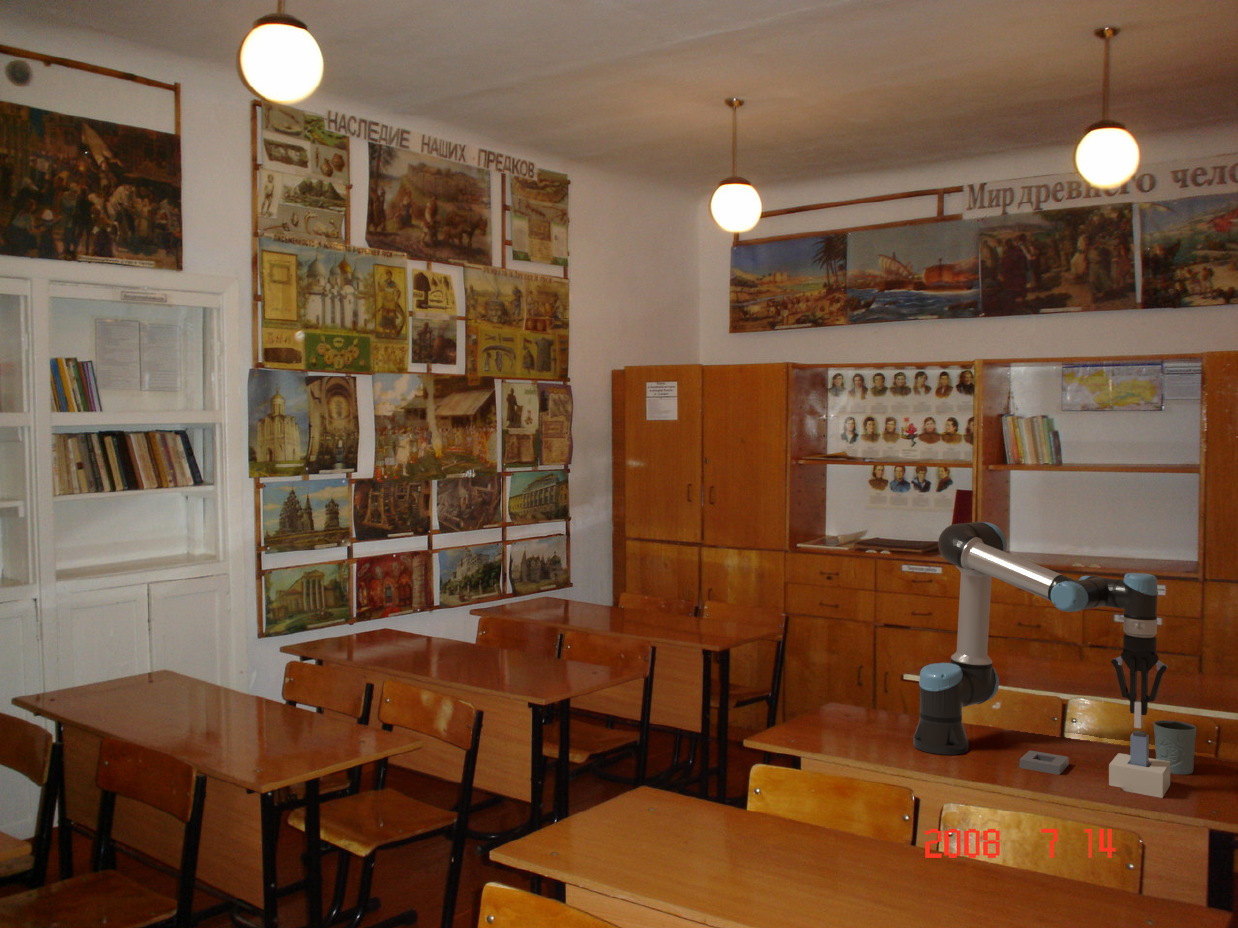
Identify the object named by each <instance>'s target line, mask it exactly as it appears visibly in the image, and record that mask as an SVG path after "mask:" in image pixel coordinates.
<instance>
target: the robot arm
mask: <svg viewBox="0 0 1238 928" xmlns="http://www.w3.org/2000/svg"><path fill="white" fill-rule="evenodd" d="M937 542H938V543H937V544H938V545H937V546H938V551H939V553H940V555H941V556H942V558H944V560H946V561H947V562H949V563H950V564H952V565H955V567H956V569H958V570H959V572H960V586H959V599H958V600H959V603H958V622H957V639H956V640H957V641H956V652H955V653H953V654H951V656H950V662H939V663H938V662H937V663H936V662H934V663H930V664H928V665H924V667H922V668H921V670H920V671H919V680H918V685H919V719H918V723H917V726H916V729H915V732H914V734H913V737H912V739H913V742H912V743H913V746H914V747H913V748H916V749H918V751H922V752H925V753H930V754H934V755H945V756H946V755H947V756H948V755H949V756H950V755H962V754H965V753H966V752H968V751H969V740H968V737H967V733H966V730H965V728H964V725H963V708H966V707H969V706H974V705H980V704H984V703H985V702H987V701H991V699H993V698H994V697H995V696H996V694H997V692H998V691H999V686H1000V679H999V675H998V672H996V668H994V667H993V660H992V659H991V657H990V656H989V655H988V648H989V647H988V645H989V631H990V630H989V629H990V614H991V613H990V612H991V611H990V610H991V596H992V578H995V579H997V580H1000V581H1001V582H1005V583H1007V584H1009V585H1011V586H1014V587H1016V588H1019V589H1021V590H1023V591H1026V592H1028V593H1031V594H1033V595H1035V596H1037V597H1040V598H1042V599H1045V600H1047V601H1049V602H1051V604H1053V605H1054V607H1055V608H1056V609H1057V610H1059V611H1062V612H1067V613H1068V612H1069V613H1075V612H1079V611H1083V610H1087V609H1095V608H1096V609H1097V608H1100V607H1105V608H1107V607H1108V608H1114V609H1115V608H1116V609H1119V610H1123V626H1122V627H1123V631H1122V632H1124V634H1123V635H1122V636H1123V637H1122V651H1121V653H1120V656H1117V657H1114V658H1112V659H1111V665H1113V667H1114V669H1115V672H1116V676H1117V681H1118V685H1119V689H1120V693H1121V696H1122V698H1125V699H1127V700H1129V713H1130V714H1134V715H1133V716H1134V718H1133V723H1134V724H1133V728H1136V729H1142V727H1143V721H1144V718H1143V717H1144V716H1146V715H1147V714H1148V703H1150V702H1154V701H1155V700H1156V699H1157V696H1158V692H1159V690H1160V686H1161V682H1162V679H1163V676H1164V673H1165V672H1166V670H1167V669H1168V668H1169V664H1168V663H1164V662H1162V661H1160V659H1159V656H1158V654H1157V647H1158V646H1157V641H1158V639H1157V637H1156V635H1157V634H1158V615H1157V614H1158V595H1159V591H1158V579H1157V577H1156V575H1154V574H1150V573H1145V572H1144V573H1141V572H1140V573H1139V572H1128V573H1125V574H1124V577H1123V579H1119V578H1112V577H1111V578H1110V577H1104V576H1103V577H1102V576H1098V575H1083V576H1081V577H1080V578H1079V579H1074V578H1072V577H1069V576H1066V575H1063V574H1062V573H1059V572H1056V571H1054V570H1051V569H1049V568H1047V567H1044V566H1041V565H1039V564H1036V563H1034V562H1031V561H1028V560H1026V559H1024V558H1021V557H1018V556H1016V555H1013V554H1011V553H1008V552H1007V549H1008V548H1007V547H1008V544H1007V543H1008V542H1007V538H1006V536H1005V533H1004V532H1003V531H1002V530H1001V528H1000V527H999V526H997V525H996V524H994V523H992V522H986V521H972V522H964V523H954V524H951V525H948V526H947V527H946V528H945V529H943V530H942V531H941V533H940V535H939V537H938V541H937ZM1123 663H1124V664H1125V665H1126V666H1127V668H1128V669H1129V688H1128V684H1127V680H1126V676H1125V672H1124V668H1123V665H1124V664H1123ZM1154 666H1156V671H1157V672H1156V674H1155V678H1154V681H1153V684H1152V686H1151V691H1150V694H1149V674H1150V673H1149V672H1150V671H1151V669H1153V667H1154ZM1138 672H1140V675H1141V676H1140V681H1141V682H1140V684H1141V685H1140V687H1141V688H1140V691H1141V692H1140V699H1137V698H1138V694H1137V693H1138V688H1137V687H1138Z"/></svg>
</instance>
